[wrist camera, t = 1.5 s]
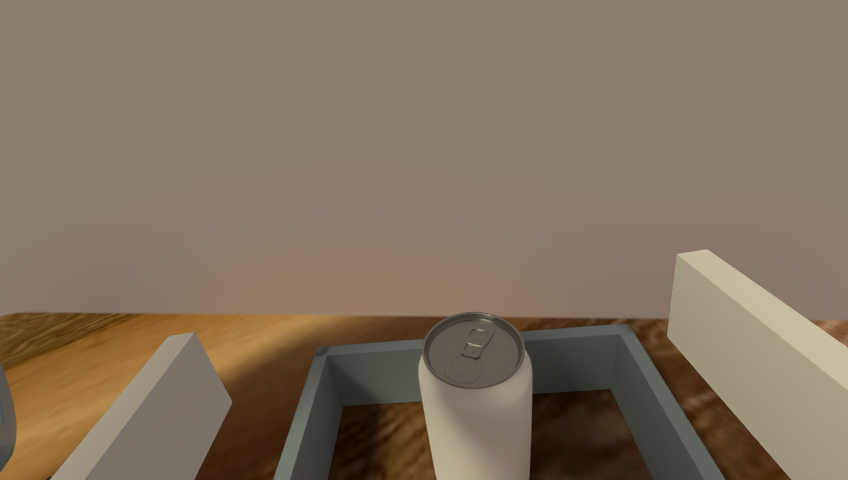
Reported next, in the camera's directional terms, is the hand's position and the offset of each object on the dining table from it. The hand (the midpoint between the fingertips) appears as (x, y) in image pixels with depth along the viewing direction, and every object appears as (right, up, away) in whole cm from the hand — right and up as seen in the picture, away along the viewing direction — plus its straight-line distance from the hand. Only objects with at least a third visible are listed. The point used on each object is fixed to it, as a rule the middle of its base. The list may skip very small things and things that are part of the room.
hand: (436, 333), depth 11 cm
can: (+4, -14, +17) cm, 22 cm away
